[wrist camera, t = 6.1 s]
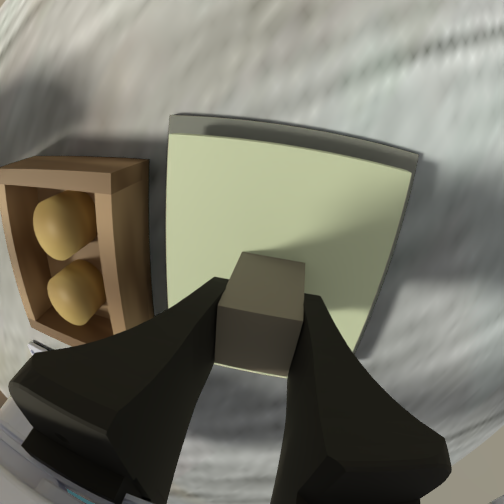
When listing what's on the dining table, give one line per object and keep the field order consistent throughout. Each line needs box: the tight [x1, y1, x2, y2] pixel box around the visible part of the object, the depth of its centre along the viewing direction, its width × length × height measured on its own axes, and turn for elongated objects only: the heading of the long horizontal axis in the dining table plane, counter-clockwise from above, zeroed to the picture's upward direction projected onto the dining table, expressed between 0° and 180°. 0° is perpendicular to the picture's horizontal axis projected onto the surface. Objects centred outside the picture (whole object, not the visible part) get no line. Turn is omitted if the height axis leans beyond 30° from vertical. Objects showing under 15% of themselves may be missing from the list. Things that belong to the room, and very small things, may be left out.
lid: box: [166, 133, 412, 378], centre depth 11 cm, size 11×9×4 cm
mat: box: [165, 115, 419, 354], centre depth 13 cm, size 12×10×1 cm
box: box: [0, 156, 154, 347], centre depth 13 cm, size 10×8×3 cm
